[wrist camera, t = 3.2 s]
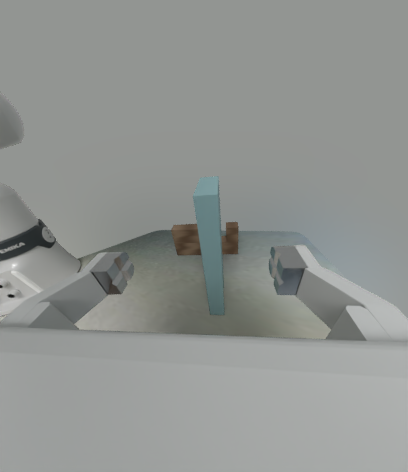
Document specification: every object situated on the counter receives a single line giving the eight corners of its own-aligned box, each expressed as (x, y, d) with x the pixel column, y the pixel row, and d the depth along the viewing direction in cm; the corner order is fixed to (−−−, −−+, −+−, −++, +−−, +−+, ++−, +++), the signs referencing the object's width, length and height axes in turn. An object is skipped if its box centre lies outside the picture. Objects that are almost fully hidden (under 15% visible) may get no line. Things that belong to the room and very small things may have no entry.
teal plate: (210, 314, 28) (192, 196, 16) (212, 282, 34) (200, 177, 22) (224, 314, 28) (217, 194, 16) (223, 282, 34) (218, 176, 21)
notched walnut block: (177, 255, 43) (171, 230, 38) (179, 249, 45) (173, 225, 40) (237, 253, 41) (238, 227, 36) (236, 247, 43) (237, 222, 38)
